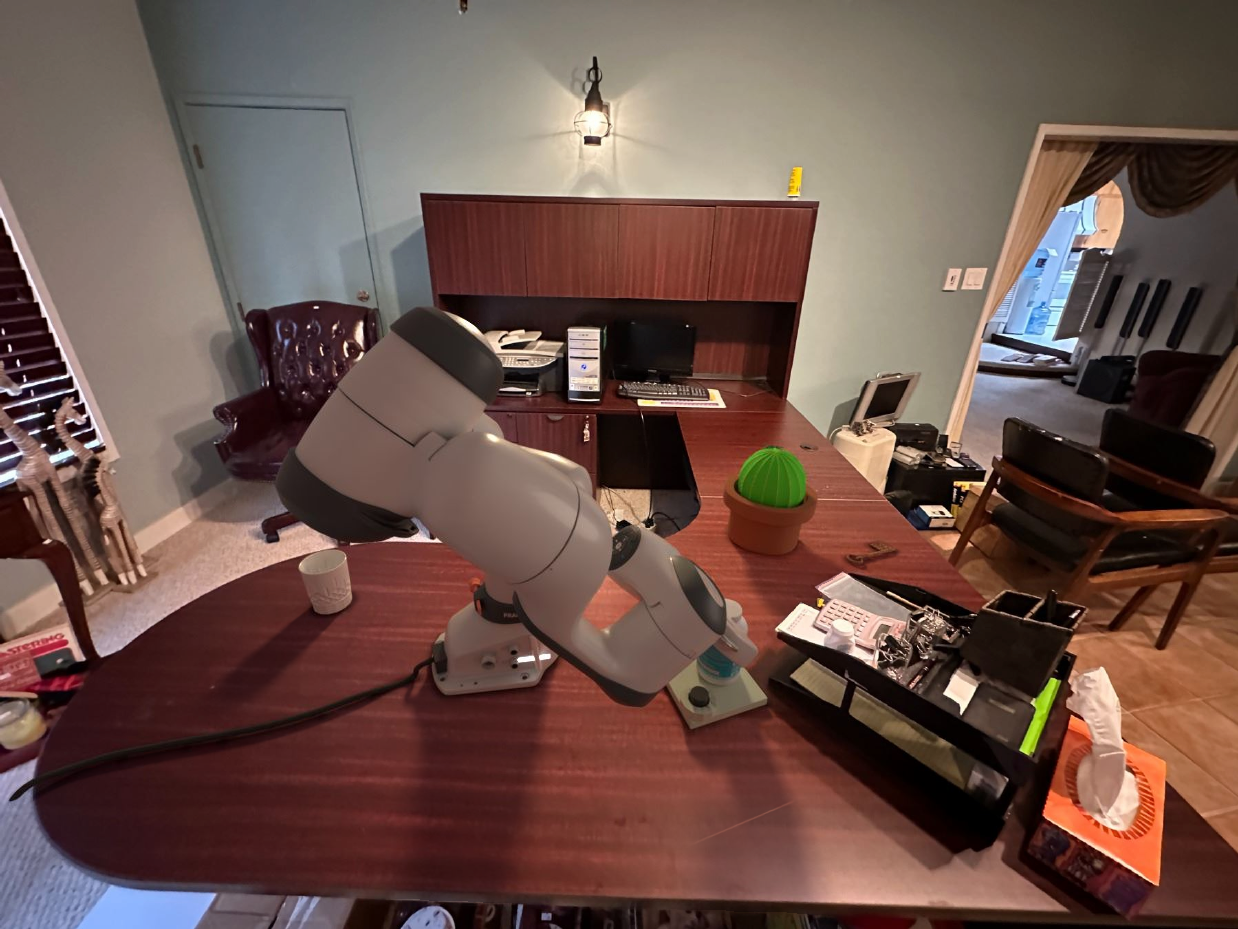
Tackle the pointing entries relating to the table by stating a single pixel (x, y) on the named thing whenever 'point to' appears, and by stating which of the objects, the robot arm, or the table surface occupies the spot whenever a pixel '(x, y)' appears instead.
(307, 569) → the white cup
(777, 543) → the potted cactus
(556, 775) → the table surface
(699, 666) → the pill bottle
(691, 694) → the tare button
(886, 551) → the key
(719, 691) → the scale
